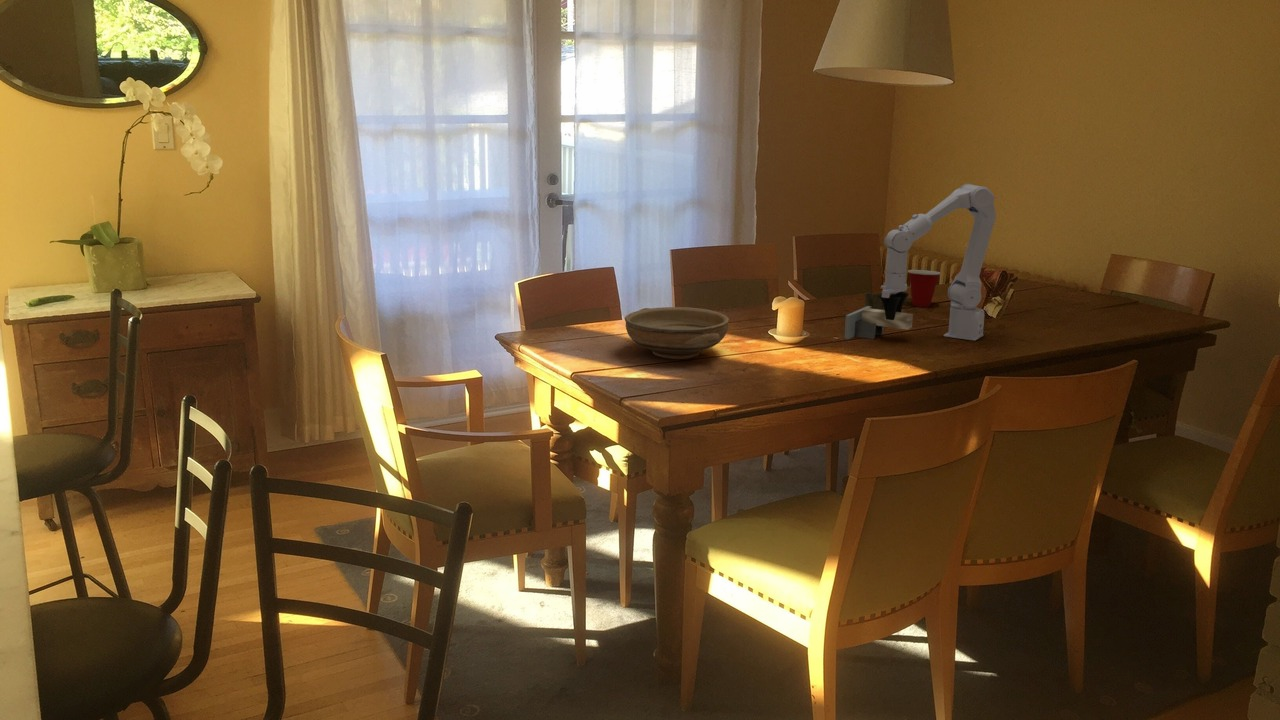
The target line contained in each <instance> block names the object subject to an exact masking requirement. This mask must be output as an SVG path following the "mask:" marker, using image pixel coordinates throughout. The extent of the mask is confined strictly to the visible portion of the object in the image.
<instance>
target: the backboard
mask: <svg viewBox="0 0 1280 720" xmlns="http://www.w3.org/2000/svg"><path fill="white" fill-rule="evenodd" d="M866 308H871V306H867V307H865V306H864V307H862V308H860V309H858V310H855V311H853V312H851V313H848V314H845V320H844V321H845V325H844V327H845V328H844V340H850V339H852V338H854V335H855V322H856V321H858V320H860V319H862V310H864V309H866Z"/></svg>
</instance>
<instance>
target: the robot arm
mask: <svg viewBox="0 0 1280 720" xmlns="http://www.w3.org/2000/svg"><path fill="white" fill-rule="evenodd" d="M995 199H996V198H995V195H994V194H993V193H992V191H991V190H990V189H989V188H988V187H986V186H985V185H984V186H982V185H981V186H979V185H976V184H975V185H974V184H972V183H965V184H963V185H961V186H960V187H959V188H957V189H954V191H952V193H951V194H949V195H948V196H947V197H946V198H944V199H943V200H942V201H941V202H940V203H938V204H936V206H935V207H933V208H932V209H930V210H929V211H927V212H926V213H925V214H924V213H918V214H916V213H914V214H913V215H912V216H911V219H909V220H908V221H907V222H905V223H904V224H903V225H902V224H900V225H898V229H891V230H890V231H889V232H887V235H886V236H885V238H884V239H883V240H884V241H883V242H884V246H885V247H886V248H887V250H886V261H885V262H886V263H885V275H884V276H885V280H884V285H881V286H880V289H882V290H881V292H882V295H880V299H881V301H882V303H883V305H884V309H885V315H886V319H887V320H894V318H895V314H896V312H902V311H903V310H902V309H903V307H904V304H905V302H906V300H907V298H908V296H909V293H908V292H906V291H908V283H906V282H907V281H906V279H907V267H908V251H909V250H910V249H911V247H912V245H913V243H914V242H916V241H918V239H920V238H921V237H923V236H924V235H926V234H927V233H928V232H930V231H932V229H933V224H934V223H936V222H938V221H939V220H941V219H942V218H944V217H946V216H947V215H949V214H950V213H951V212H953V211H956V210H958V209H967V210H968V211H969V213H970V214H971V215H972V216H973V218H974V221H973V225H972V227H971V228H972V229H971V232H970V237H969V239H968V244H967V247H966V249H965V253H964V257H963V262H962V264H961V268H960V271H959V273H957V274H956V275H955V276H954V279H953V281H952V283H951V284H950V285H949V286H948V289H947V296H948V299H949V300H950V308H949V322H948V332H946V333H945V334H943V337H946V338H952V339H953V338H954V339H960V340H968V341H977V340H979V339H981V338H982V337H983V336H984V326H985V310H984V309H982V308H979V307H977V306H979V304H980V302H981V301H982V286H983V285H982V284H983V283H982V281H981V278H980V275H981V270H982V268H983V265H984V264H983V263H984V261H985V258H986V253H987V249H988V247H989V244H990V243H989V242H990V240H991V236H992V234H993V233H992V232H993V229H994V225H995V223H996V222H995V221H996V218H997V213H996V209H995V203H994V202H995Z"/></svg>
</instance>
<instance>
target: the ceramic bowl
mask: <svg viewBox="0 0 1280 720" xmlns="http://www.w3.org/2000/svg"><path fill="white" fill-rule="evenodd" d="M624 321H625V330H626V332H627V335H628V336H629V339H631V340H632V342H634V343H636V344H637V345H638V346H640V347H642V348H645V349H648V350H650V351H652V354H653V355H654V356H656V357H659V358H664V359H671V360H673V359H675V360H680V359H681V360H682V359H683V360H685V359H690V358H691V359H692V358H695V357H698V356H699V355H700V354H701V352H702V351H705V350H707V349H710V348H712V347H714V346H716V345H718V344H719V343H720V342H721V341H722V340H723V339H724V338H725V337H726V335H727V333H728V329H729V322H730V319H729V317H728V316H727V315H726V314H724V313H723V312H722V313H721V312H719V311H715V310H711V309H706V308H698V307H697V308H696V307H686V306H685V307H682V306H673V307H672V306H670V307H669V306H668V307H666V306H665V307H654V308H653V307H652V308H650V307H649V308H648V307H646V308H641V309H639V310H635V311H633V312H630V313H628V314H627V315H626V316H625V317H624Z"/></svg>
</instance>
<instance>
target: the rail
mask: <svg viewBox="0 0 1280 720" xmlns="http://www.w3.org/2000/svg"><path fill="white" fill-rule="evenodd" d="M913 318H914V313H909V312H903V311H901V312H896V314H895V318H894V320H887V319H886V315H885V310H879V309H871V308H866V309H864V310H862V322H868V323H875V324H876V325H877V326H884V327H885V328H886V327H887V328H892V329H899V330H907V331H908V330H910V329H912V328H913V320H914V319H913Z"/></svg>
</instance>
